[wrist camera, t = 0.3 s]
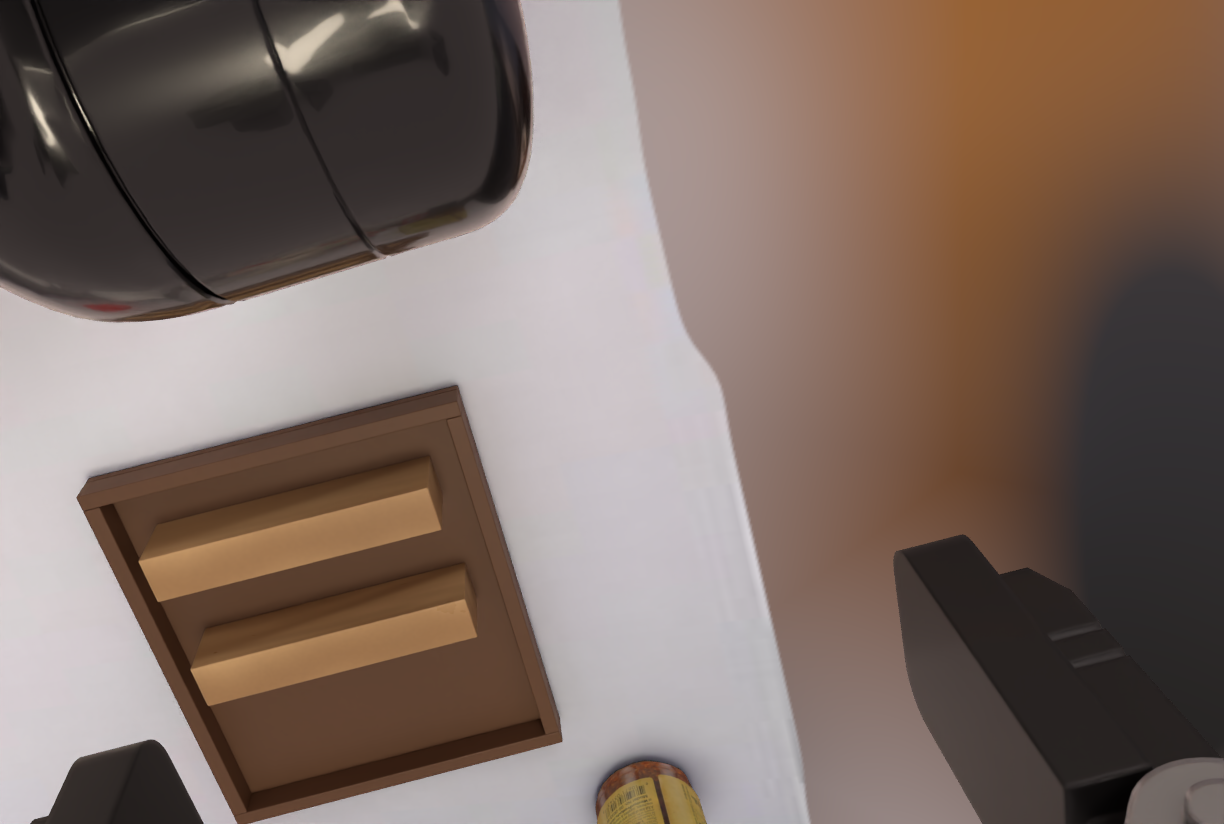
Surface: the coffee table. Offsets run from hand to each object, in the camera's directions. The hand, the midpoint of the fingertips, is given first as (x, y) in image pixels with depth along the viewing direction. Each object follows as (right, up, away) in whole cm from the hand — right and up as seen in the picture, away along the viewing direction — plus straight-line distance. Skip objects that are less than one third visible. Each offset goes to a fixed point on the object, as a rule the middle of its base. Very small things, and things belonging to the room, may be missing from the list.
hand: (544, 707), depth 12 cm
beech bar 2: (-14, -7, +47) cm, 49 cm away
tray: (-14, -7, +47) cm, 50 cm away
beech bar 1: (-15, -2, +44) cm, 46 cm away
